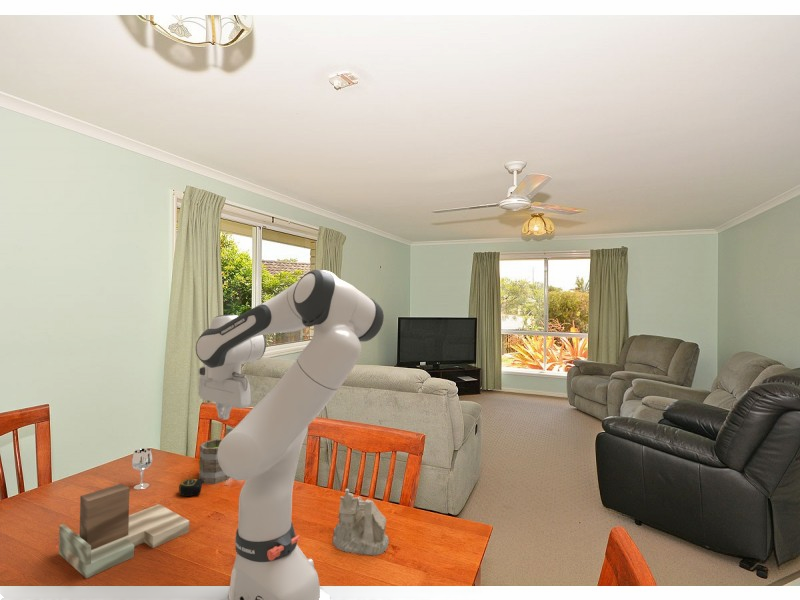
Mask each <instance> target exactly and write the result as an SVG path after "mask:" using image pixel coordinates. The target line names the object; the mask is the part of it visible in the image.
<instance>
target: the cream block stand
mask: <svg viewBox="0 0 800 600" xmlns="http://www.w3.org/2000/svg"><path fill="white" fill-rule="evenodd" d="M189 532H190V520H189V519H187V518H185V517H184V516H181V515H180V514H178V513H176V512H174V511H172V510H170V509H169V508H168V507H165V506H164V505H162V504H159V503H158V504H155V505H152V506H150V507H148V508H145V509H142V510H139V511H137V512H134V513H132V514H129V526H128V535H127V536H125V537H122V538H120V539H117V540H115V541H113V542H110V543H108V544H105V545H103V546H100V547H98V548H95V549H93V550H91V545H89V544H88V543H87V542H86V541H84V540H83V539H82V538H81V537H79V536H80V533H79V534H77V533H76V532H74V531H73V530H72V529H70V527H68V526H67V525H65V524H64V523H63V524H60V525H59V534H58V536H59V538H58V539H59V540H58V555H59V556H61V557H62V558H63V559H64V560H65V561H66V562H67V563H69V564H70V565H71V566H72V567H73V568H74V569H75V570H77V572H79V573H80V575H82V576H83V577H84V578H85V579H86V580H87V579H89V578H91V577H93V576H95V575H98V574H100V573H101V572H104V571H106V570H109V569H111V568H113V567H115V566H117V565H120V564H121V563H123V562H126V561H128V560H131V559H133V558H134V557H135V547H137V546H139V545H142V544H143V543H144V544H146V545H148V546H149V547H150V548H152V549H154V548H157V547H159V546H161V545H164V544H165V543H168V542H170V541H172V540H174V539H177V538H179V537H181V536H183V535H186V534H187V533H189Z"/></svg>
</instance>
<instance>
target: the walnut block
mask: <svg viewBox="0 0 800 600" xmlns="http://www.w3.org/2000/svg"><path fill="white" fill-rule="evenodd" d="M79 499H80V501H79V534H80V536H79V537H81V538H82V539H83V540H84V541H86V542H87V543H88V544H89V545H91V550H93V549H95V548H98V547H100V546H103V545H105V544H108V543H110V542H113V541H115V540H117V539H120V538H122V537H125V536H127V535H128V526H129V515H130V487H128V486H127V485H125V484H123V483H119V484H115V485H112V486H109V487H106V488H102V489H98V490H96V491H92V492H88V493H86V494H83V495H80V497H79Z"/></svg>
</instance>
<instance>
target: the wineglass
mask: <svg viewBox="0 0 800 600" xmlns="http://www.w3.org/2000/svg"><path fill="white" fill-rule="evenodd" d="M131 461H132V462H131V465H132V468H133V469H134V470H136V471H140V473H139V475H140V483H139V484H137V485H135V486H133V489H134V490H144V489H147V488H149V486H150V484H149V483H147V482H146V483H144V481H143V478H144V474H145V473H144V470H146V469H148V468H150V467H151V465H152V463H153V454H152V451H151V448H148V447H146V448H145V447H144V448H139V449H135V450H134V452H133V456H132V459H131Z"/></svg>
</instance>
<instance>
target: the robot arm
mask: <svg viewBox="0 0 800 600" xmlns="http://www.w3.org/2000/svg"><path fill="white" fill-rule="evenodd" d="M384 319H385V318H384V311H383V308H382V307H381V305H380V304H379V303H378V302H377V301H376V300H374V299H373V298H371V297H369V296H367V294H365V293H363V292H362V291H360V290H359V289H357V288H356V287H355V286H354V285H353V284H351V283H349V282H347V281H345V280H342V279H341V278H339V276H338V275H336V274H335V273H334V272H331V271H330V270H324V269H321V270H320V269H312V270H310V271H308V272H306V273H305V274H303V276H301V278H299V280H297V281H295V282H294V283H293V284H291V285H289V286H288V287H287V288H285V289H284V290H282V291H281V292H279V293H278V294H276V295H275V296H273V297H271V298H269V299H268V300H266V301H264V302H262V303H260V304H258V305H256V306H254V307H253V308H251V309H248V310H247V311H245V312H243V313H242V314H240V315H237V314H221V315H216V316H214V317H213V318H212V319H211V323H210V326H209V328H207V329H205V330H204V331H203V332H202V333H201V334H200V336H199V337H198V339H197V341H196V344H195V354H196V356H197V358H198V359H199V360H200V362H202V363H203V364H204V365H203V366H200V367H198V370H197V374H198V375H199V378H198V384H197V385H198V389H197V390H198V396H199V398H200V399H201V400H204V401H205V400H206V401H209V402H212V403H214V404H215V409H216V412H217V418H218V419H221V420H228V419H230V413H231V411H232V409H233V408H236V409H243V408H248V407H249V406H250V405H251V402H252V398H251V397H252V396H251V395H252V393H251V386H250V382H249V379H248V378H247V376H246V374H244V373H241V372H242V363H248V362H249V363H250V362H255V361H258V360H260V359H261V358H262V357H263V356H264V354H265V353H266V348H267V340H266V335H271V334H282V333H294V332H298V331H302V330H304V329H306V328H309V327H313V335H312V337H311V340H310V341H309V342H308V344H306V346H305V347H304V349H303V350H302V351H301V352H300V354H299V355H298V356H297V357H296V359H294V361H293V362H292V364H291V365H290V366H289V367H288V369H287V370H286V371H285V373H284V374H283V376H282V377H281V378H280V379H279V380H278V382H277V383H276V384H275V386H274V387H273V388H272V389H270V391H269V392H267V394H266V395H265V396H263V397H262V399H261V400H259V402H257V404H256V405H254V407H253V408H252V409H251V410H249V412H248V413H247V414H246V415H245V417H243V418H242V419H241V420H240V421H239V423H238V424H236V426H235V427H234V428H232V429H231V430H230V431H229V432H228V433H227V434H226V435H225V436H224V437H223V438H221V439H222V441H221V442H220V444H219V447H218V452H217V457H218V462H219V465H220V467H221V469H222V471H223V472H224V473H225V474H226V475H227V476H229V477H230V478H229V479H231V480H235V481H244V483H243V486H242V487H241V490H240V492H239V496H238V523H237V524H238V526H237V527H238V528H237V529H236V531H235V539H234V544H235V548H234V549H235V553H236V556H235V560H234V563H233V567H232V569H231V575H230V583H229V591H228V596H229V599H228V598H227V600H319V598H320V589H323V588H322V586H320V579H319V575H318V572H317V570H316V568H315V563H314V560H313V559H312V558H308V557H307V556H306V555H305V554H304V553H303V551H302V550H301V548H300V546H299V545H298V542H299V541H300V540H301V538H300V536H301V535H300V534H297V535H296V531H295V527H294V524H293V522H292V512H293V511H292V508H293V490H294V483H295V477H296V473H297V468H298V464H299V460H300V454H301V450H302V447H303V443H304V441H305V438H306V435H307V433H308V431H309V430H308V429H309V425H310V424H311V423H312V422H313V421H314V420H315V419H317V417H318V416H319V415H320V413H321V412H322V410H324V408H325V407H326V406H327V404H329V402H330V400H332V398H333V397H334V396H335V395H336V393H337V392H338V390H339V389H340V388H341V386H342V385H343V384H344V383H345V381H346V380H347V378H348V377H349V375H350V374H351V372H352V370H353V369H354V368H355V366H356V364H357V362H358V360H359V357H360V356H361V353H362V344H361V342H363V343H364V342H368V341H371V340H372V339H373V338H375V337H377V335H378V333H379V332H380V330H381V329H382V326H383V323H384Z"/></svg>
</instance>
